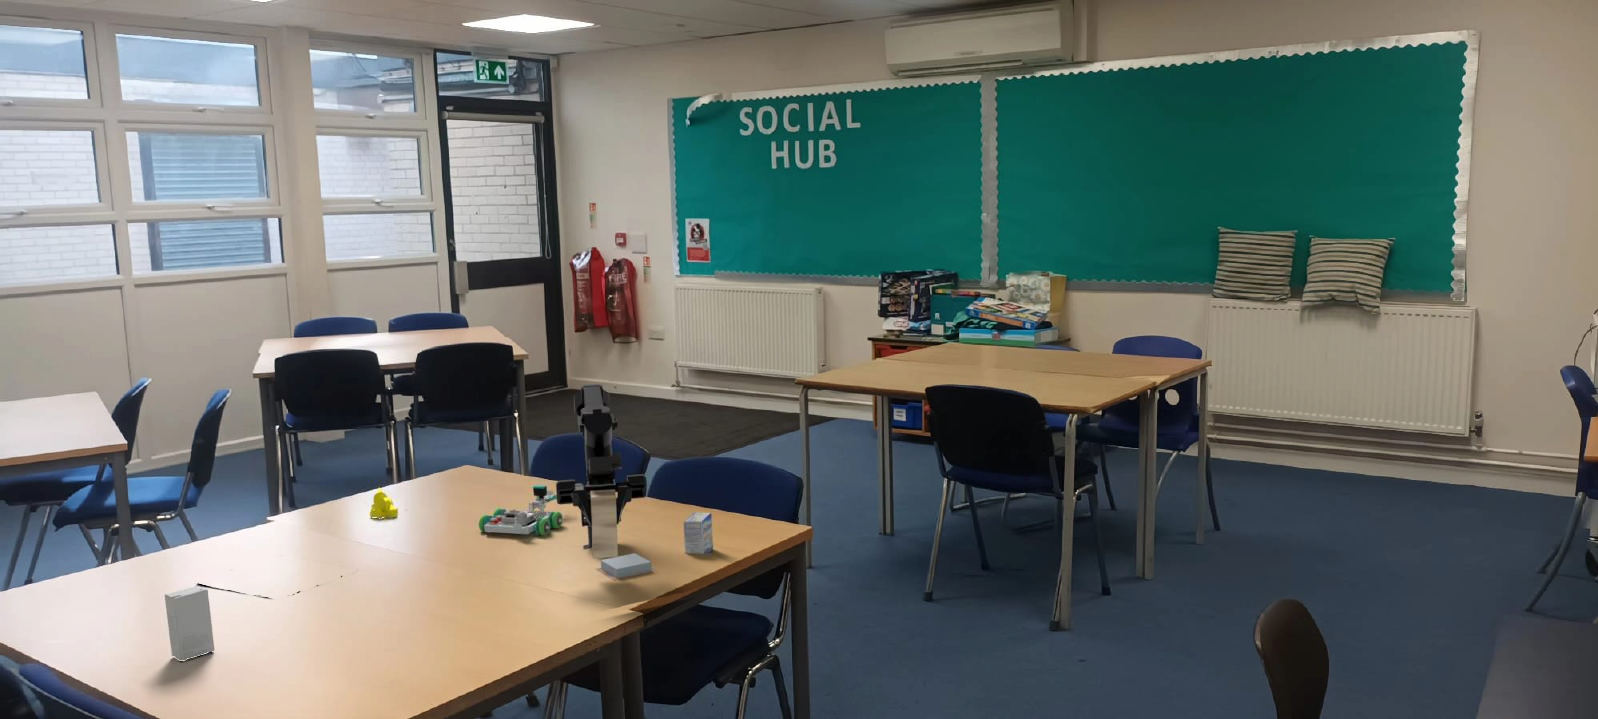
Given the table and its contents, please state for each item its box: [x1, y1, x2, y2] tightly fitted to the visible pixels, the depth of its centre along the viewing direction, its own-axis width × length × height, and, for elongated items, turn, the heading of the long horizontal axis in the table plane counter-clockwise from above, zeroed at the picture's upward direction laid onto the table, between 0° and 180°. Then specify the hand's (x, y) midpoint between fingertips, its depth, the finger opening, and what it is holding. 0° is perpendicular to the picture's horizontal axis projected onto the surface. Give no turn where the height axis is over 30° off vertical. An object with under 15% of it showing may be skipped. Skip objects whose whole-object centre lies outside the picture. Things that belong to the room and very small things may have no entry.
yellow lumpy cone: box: [369, 486, 399, 518], centre depth 300 cm, size 6×8×8 cm
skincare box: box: [164, 585, 215, 660], centre depth 206 cm, size 6×4×12 cm
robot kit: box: [478, 484, 564, 537], centre depth 288 cm, size 19×25×9 cm
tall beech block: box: [590, 489, 619, 559], centre depth 238 cm, size 5×5×13 cm
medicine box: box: [683, 512, 714, 555], centre depth 259 cm, size 8×4×9 cm, turn 168°
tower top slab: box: [600, 553, 652, 578], centre depth 245 cm, size 8×8×2 cm
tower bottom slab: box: [595, 567, 658, 582], centre depth 245 cm, size 10×10×2 cm
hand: (604, 524), depth 236 cm, fingers closed on tall beech block, 5 cm apart
